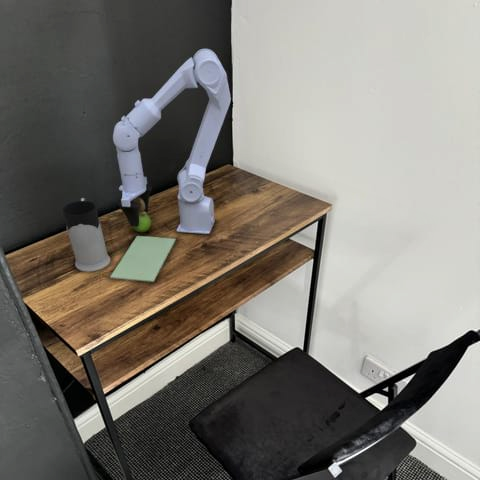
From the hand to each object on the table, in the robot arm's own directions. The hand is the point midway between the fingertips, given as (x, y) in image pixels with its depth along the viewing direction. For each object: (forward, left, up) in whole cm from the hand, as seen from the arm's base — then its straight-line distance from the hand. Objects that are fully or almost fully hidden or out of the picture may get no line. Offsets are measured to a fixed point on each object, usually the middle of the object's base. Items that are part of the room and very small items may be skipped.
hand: (139, 219), depth 128 cm
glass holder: (+8, +15, -4) cm, 17 cm away
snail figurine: (0, 0, -4) cm, 4 cm away
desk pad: (-6, +13, -4) cm, 15 cm away
